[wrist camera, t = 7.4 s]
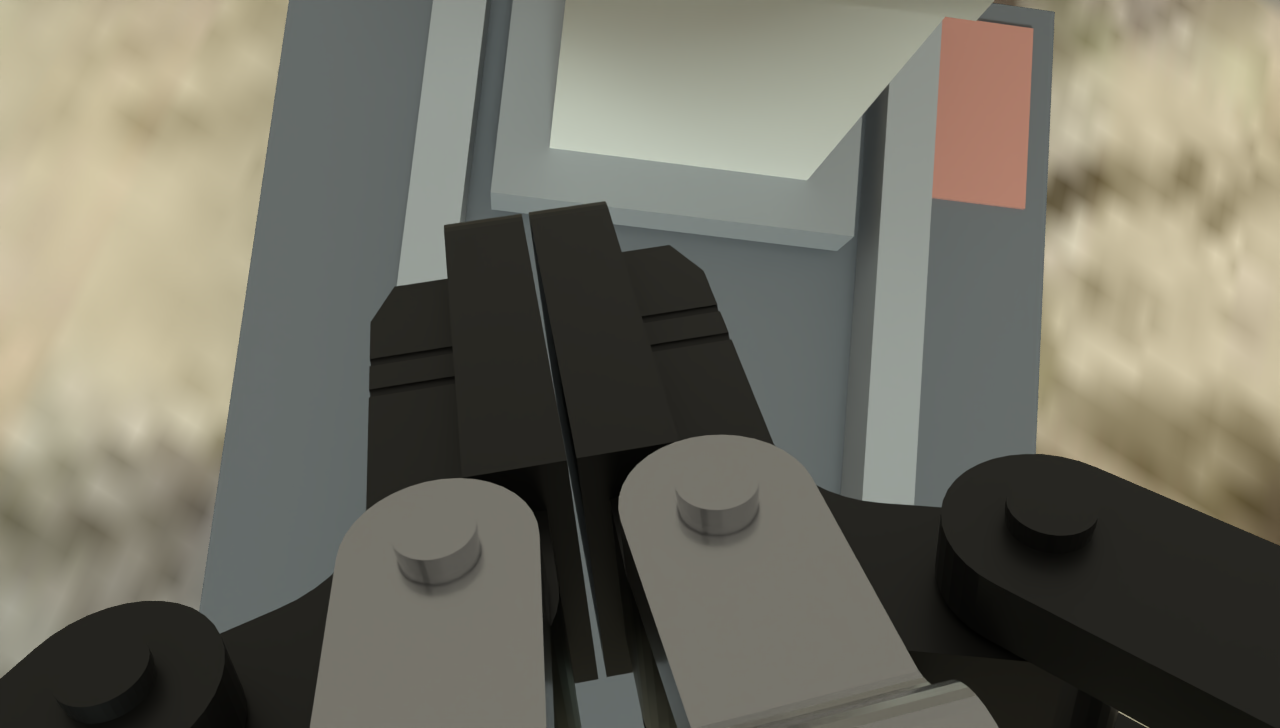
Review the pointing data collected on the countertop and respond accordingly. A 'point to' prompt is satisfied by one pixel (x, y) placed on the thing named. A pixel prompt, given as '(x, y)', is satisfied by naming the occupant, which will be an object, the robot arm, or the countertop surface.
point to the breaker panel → (736, 269)
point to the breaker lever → (702, 109)
